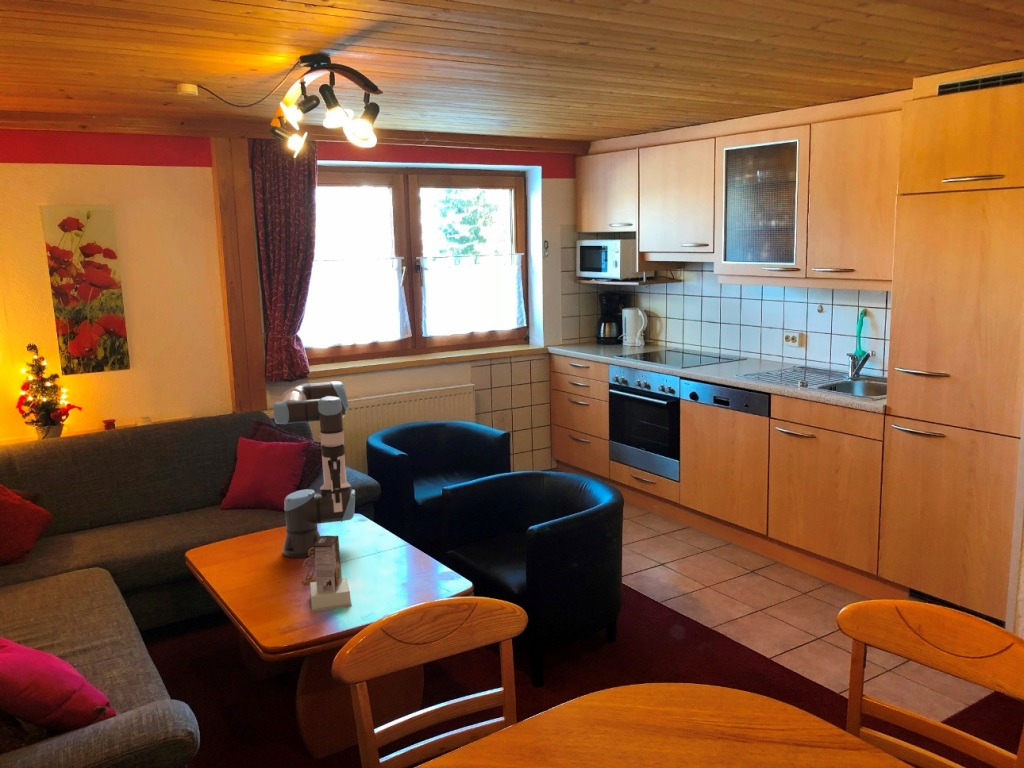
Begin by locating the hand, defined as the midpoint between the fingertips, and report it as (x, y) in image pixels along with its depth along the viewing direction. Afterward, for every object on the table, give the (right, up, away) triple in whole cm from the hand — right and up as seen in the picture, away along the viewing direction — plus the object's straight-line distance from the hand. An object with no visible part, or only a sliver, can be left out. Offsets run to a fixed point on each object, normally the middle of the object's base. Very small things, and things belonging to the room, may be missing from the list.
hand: (337, 505), depth 274 cm
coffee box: (-1, -26, -7) cm, 27 cm away
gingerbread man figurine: (-10, -28, +12) cm, 33 cm away
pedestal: (-1, -31, -6) cm, 31 cm away
